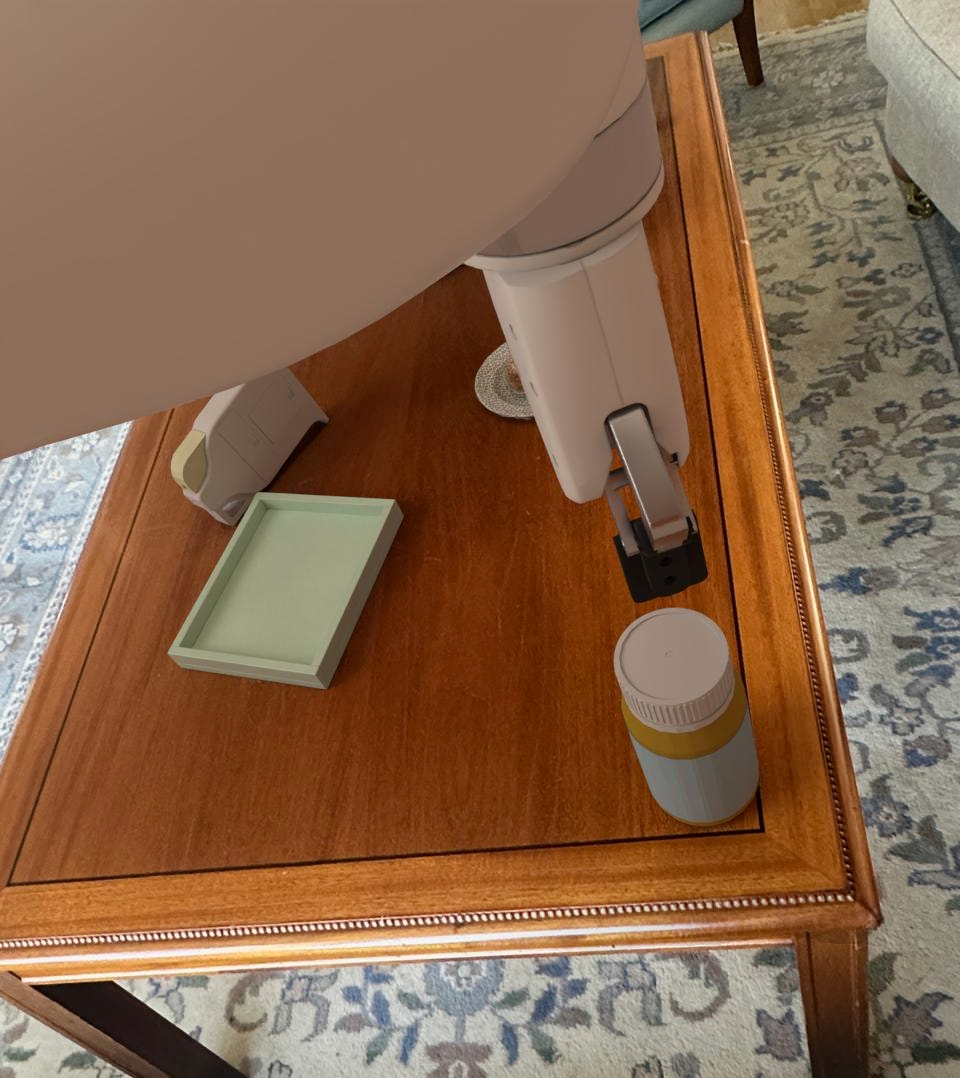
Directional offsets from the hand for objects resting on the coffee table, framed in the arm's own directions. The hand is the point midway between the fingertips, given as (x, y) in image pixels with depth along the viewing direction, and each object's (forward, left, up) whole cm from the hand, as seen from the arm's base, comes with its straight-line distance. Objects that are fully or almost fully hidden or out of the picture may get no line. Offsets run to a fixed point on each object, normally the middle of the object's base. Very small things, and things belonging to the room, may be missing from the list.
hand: (633, 504), depth 43 cm
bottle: (0, 0, -27) cm, 27 cm away
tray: (+11, +37, -27) cm, 47 cm away
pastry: (+37, +22, -27) cm, 51 cm away
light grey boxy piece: (+24, +46, -27) cm, 59 cm away
